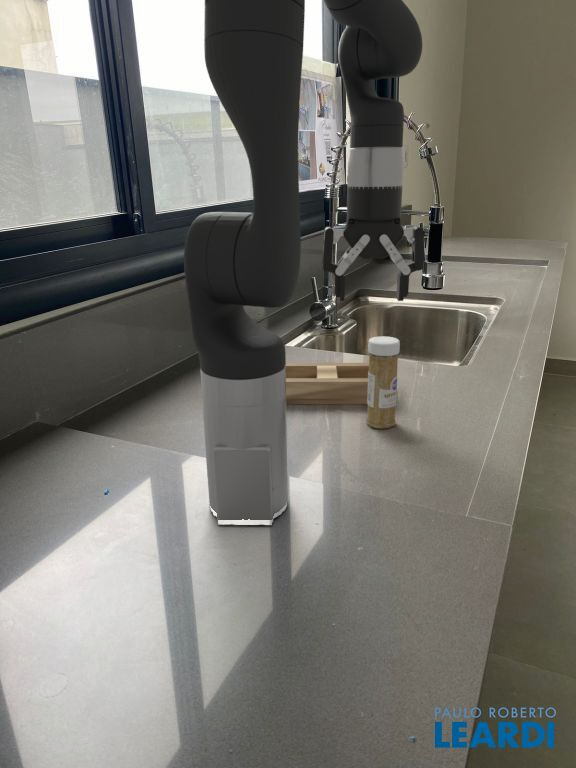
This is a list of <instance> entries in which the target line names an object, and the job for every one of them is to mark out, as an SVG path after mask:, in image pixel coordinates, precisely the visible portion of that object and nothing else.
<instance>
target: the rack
mask: <svg viewBox="0 0 576 768" xmlns="http://www.w3.org/2000/svg"><path fill="white" fill-rule="evenodd" d="M368 371H369V362H286V405H368V404H367V394H368Z"/></svg>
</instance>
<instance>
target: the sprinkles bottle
mask: <svg viewBox="0 0 576 768" xmlns="http://www.w3.org/2000/svg"><path fill="white" fill-rule="evenodd" d="M400 342H401V341H400V340H399V339H398V338H397V337H393V336H384V335H382V336H373V337H371V338H369V339H368V346H367V352H368V356H369V357H368V358H369V359H368V363H369V371H368V394H367V404H366V405H367V413H366V414H367V415H366V416H367V417H366V424H367V425H368V426H369V427H371V428H375V429H379V430H380V429H383V430H384V429H388V428H389V429H390V428H392V427H394V426H395V425H396V424H397V423H396V407H397V406H396V405H397V395H398V394H397V393H398V363H399V361H398V360H399V353H400V350H401V349H400V346H401V345H400V344H401V343H400Z"/></svg>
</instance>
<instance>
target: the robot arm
mask: <svg viewBox="0 0 576 768" xmlns="http://www.w3.org/2000/svg"><path fill="white" fill-rule="evenodd" d="M322 1H323V3H324V4H325V8H326V9H327V11H328V13H329V15H330V17H332V19H333V20H334V22H336V23H338V24H339V25H341V26H346V27H345V28H344V30H343V31H342V34H341V36H340V39H339V43H338V49H337V50H338V51H337V53H338V55H337V56H338V63H339V68H340V73H341V76H342V81H343V85H344V88H345V89H344V90H345V94H346V101H347V104H348V110H349V115H350V126H349V127H350V131H349V136H350V137H349V154H348V156H349V157H348V163H347V175H346V183H347V184H346V185H347V188H346V190H347V194H346V223H345V225H344V228H333V227H331V226H326V227H325V228H324V230H323V231H324V232H323V244H322V245H323V246H322V261H321V262H322V263H321V265H322V270H323V271H325V272H328V273H330V274H331V273H332V274H333V275H334V278H333V279H334V280H333V281H334V283H333V284H334V285H333V288H334V289H333V290H334V291H333V293H334V295H335V298H338V300H339V302H345V294H346V292H345V291H346V290H345V289H346V276H345V272H346V270H347V269H348V268H349V267H350V265H352V264H353V263H354V261H356V259H357V257H358V258H359V259H362V260H369V259H372V258H373V259H374V258H375V259H378V260H384V259H385V258H387V257H390V259H391V260H392V262H393V263H394V264H395V266H396V267H397V268H398V271H399V272H398V273H397V280H396V281H397V282H396V300H397V301H398V302H404V298H407V297H408V295H409V289H410V288H409V287H410V286H409V285H410V276H411V274H412V273H414V272H418V271H421V270H423V269H424V238H425V237H424V229H423V228H422V227H420V226H418V225H415V226H413V227H403V225H402V202H403V182H404V157H403V143H404V142H403V141H404V124H405V123H404V119H405V118H404V117H405V112H404V109H405V108H404V106H403V104H402V102H400V101H399V100H396V99H392V98H388V97H380V96H379V95H378V93H377V91H376V88H375V86H374V80H382V79H383V80H384V79H391V78H400V77H401V78H402V77H405V76H408V75H409V74H411V73H412V72H413V71H414V70H415V69H416V68H417V66H418V64H419V62H420V60H421V56H422V52H423V37H422V31H421V29H420V25H419V23H418V21H417V19H416V17H415V15H414V14H413V13H412V11H411V10H410V8H409V7H408V6H407V4H406V3H405V2H404V1H403V0H322ZM305 4H306V0H204V19H203V20H204V23H203V25H204V35H203V36H204V37H203V38H204V39H203V40H204V42H203V43H204V44H203V45H204V47H203V48H204V61H205V62H204V63H205V66H206V70H207V74H208V77H209V80H210V82H211V84H212V87H213V90H214V92H215V94H216V95H217V97H218V99H219V102H220V103H221V105H222V107H223V109H224V110H225V112H226V114H227V117H228V118H229V119H230V122H231V123H232V125H233V126H234V129H235V131H236V134H238V137H239V139H240V141H241V143H242V145H243V148H244V150H245V153H246V157H247V159H248V163H249V168H250V174H251V182H252V197H253V198H252V199H253V202H252V203H253V204H252V205H253V208H252V209H253V212H244V211H243V212H237V211H234V212H232V211H210V212H205V213H202V214H200V215H198V216H197V217H196V218H195V219H194V220H193V221H192V223H191V224H190V227H189V228H188V231H187V234H186V238H185V242H184V252H183V267H184V270H183V271H184V280H185V288H186V295H187V303H188V312H189V318H190V329H191V334H192V335H191V337H192V341H193V345H194V347H195V348H194V349H195V350H196V352H197V354H198V358H199V368H200V369H199V370H200V371H199V372H200V384H201V400H202V401H201V402H202V403H201V404H202V415H203V429H204V444H205V445H204V446H205V458H206V459H205V460H206V461H205V462H206V473H207V488H208V500H209V501H208V502H209V503H210V504H209V507H210V506H211V508H212V509H213V510H214V511H215V512H216V513H217V518H216V520H217V519H218V520H242V519H244V520H248V519H250V520H272V519H273V516H274V514H275V513H277V512H279V511H280V510H281V509H282V508H283V507H284V506H285V505H286V503H287V501H288V502H289V493H288V492H289V489H288V487H289V486H288V484H289V483H288V439H287V437H288V436H287V434H288V432H287V425H288V424H287V423H288V422H287V404H286V363H287V362H286V361H287V360H286V345H285V343H284V341H283V339H282V338H281V337H280V336H279V335H278V334H276V333H274V332H273V331H271V330H269V329H267V328H265V327H264V326H262V325H260V324H259V323H258V322H256V321H255V320H254V319H253V318H251V317H252V316H250V315H249V314H248V313H247V311H245V308H244V306H247V307H256V308H257V307H260V308H273V309H274V308H280V307H284V306H285V305H286V304H288V303H290V301H291V300H292V298H293V297H294V294H295V292H296V289H297V285H298V281H299V276H300V269H301V268H300V267H301V255H302V254H301V251H302V249H301V248H302V245H301V243H302V242H301V240H302V239H301V237H302V235H301V234H302V233H301V207H300V179H299V174H300V173H299V128H300V102H301V101H300V99H301V98H300V97H301V87H302V85H301V83H302V68H303V59H304V58H303V57H304V41H305V39H304V36H305V17H306V16H305V15H306V14H305V12H306V10H305V9H306V7H305V6H306V5H305ZM404 236H405V237H406V240H407V242H408V243H410V244H411V261H410V262H406V261H405V260H404V258H403V256H402V255H401V254H400V252H399V251H398V249H397V248H396V247H397V246H398V244H399V243H400V242H401V240H402V239H403V237H404ZM341 237H343V239H345V242H346V243H347V244H348V245H349V247H348V248H347V250H346V251H345V252H344V253H343V255H342V257H341V258H340V260H338V262H337V263H335V262H333V261H332V260H333V249H334V248H333V247H334V246H333V245H336V244H337V243H338V242H339V241H340V239H341Z"/></svg>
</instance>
